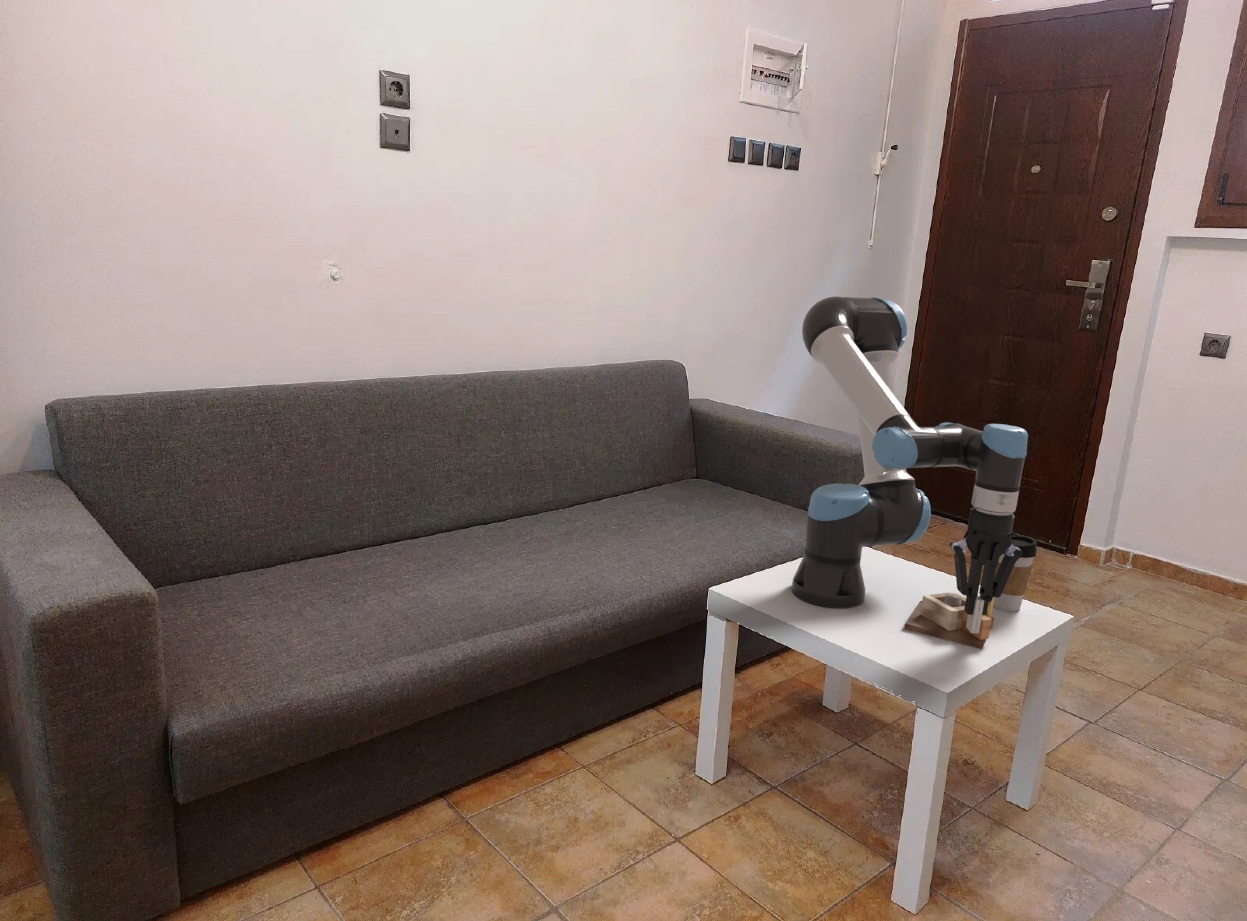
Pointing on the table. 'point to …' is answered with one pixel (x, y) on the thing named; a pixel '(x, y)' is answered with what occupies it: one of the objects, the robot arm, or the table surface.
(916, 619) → the base
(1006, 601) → the coffee cup
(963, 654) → the table surface
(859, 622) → the table surface
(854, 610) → the table surface
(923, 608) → the hollow square frame
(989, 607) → the dowel
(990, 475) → the robot arm
